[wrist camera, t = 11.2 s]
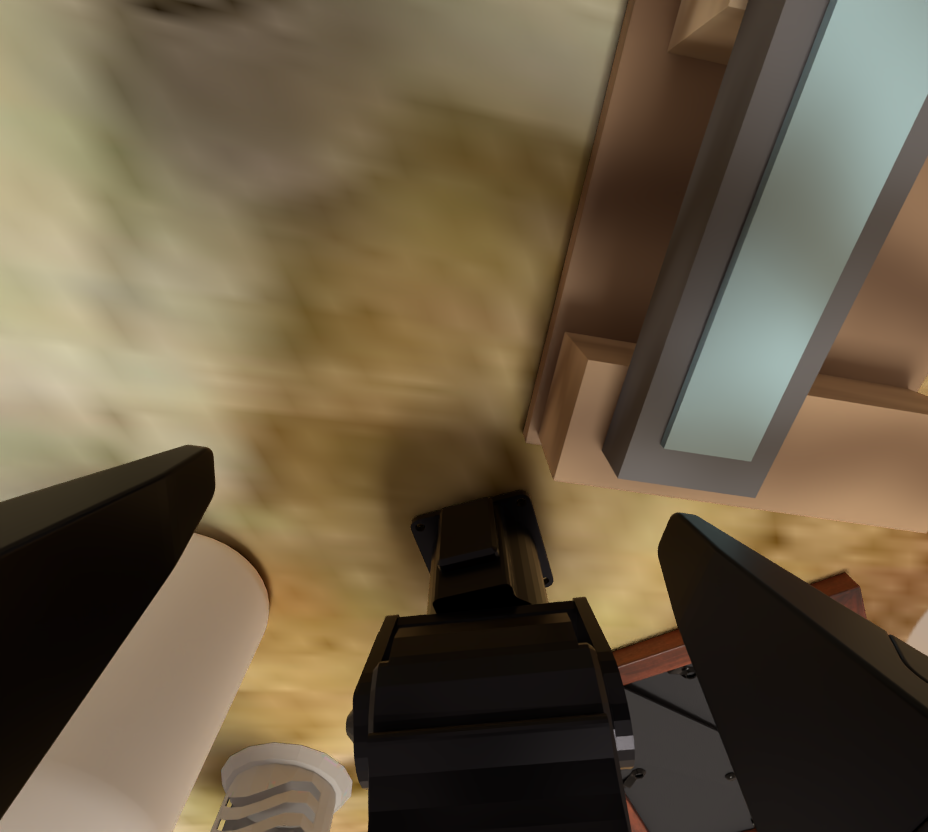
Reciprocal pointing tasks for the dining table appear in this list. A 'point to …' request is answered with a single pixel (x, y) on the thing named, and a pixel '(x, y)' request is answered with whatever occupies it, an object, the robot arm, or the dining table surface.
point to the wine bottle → (153, 705)
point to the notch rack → (637, 269)
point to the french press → (281, 790)
